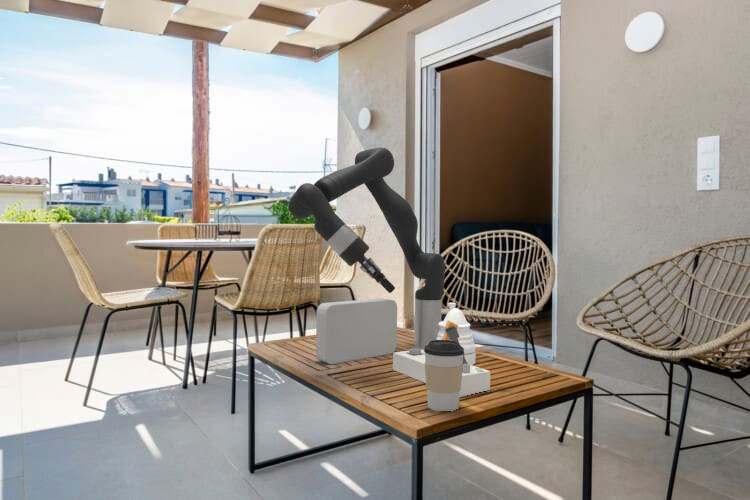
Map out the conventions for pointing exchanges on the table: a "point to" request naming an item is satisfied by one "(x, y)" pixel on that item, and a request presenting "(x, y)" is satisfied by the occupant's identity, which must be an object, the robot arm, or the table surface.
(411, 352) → the grey button
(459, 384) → the coffee cup
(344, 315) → the rounded white slab
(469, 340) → the honey pot
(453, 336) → the charcoal paddle
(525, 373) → the table surface
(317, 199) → the robot arm
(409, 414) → the table surface
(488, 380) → the white rectangular tray
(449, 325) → the orange paddle
